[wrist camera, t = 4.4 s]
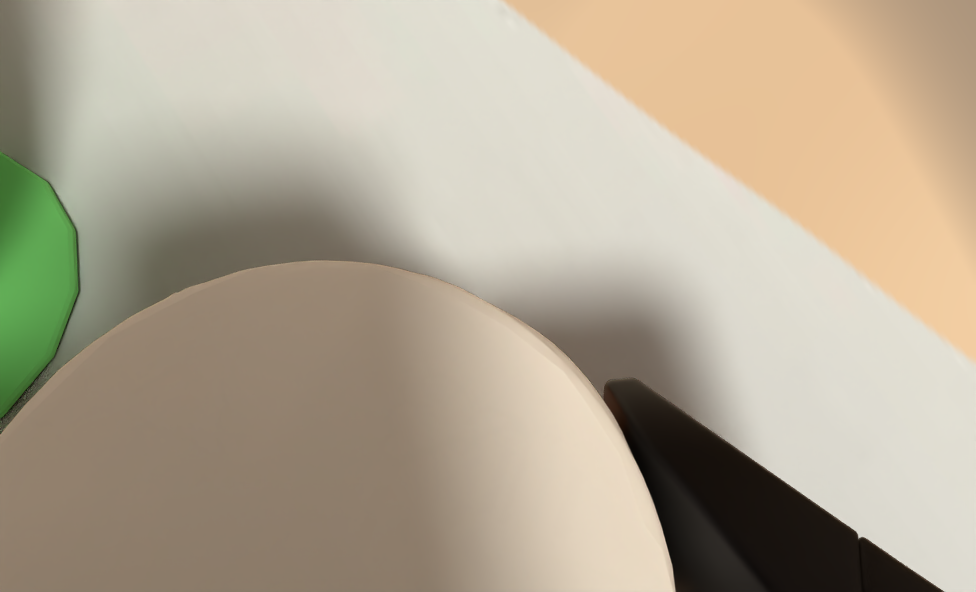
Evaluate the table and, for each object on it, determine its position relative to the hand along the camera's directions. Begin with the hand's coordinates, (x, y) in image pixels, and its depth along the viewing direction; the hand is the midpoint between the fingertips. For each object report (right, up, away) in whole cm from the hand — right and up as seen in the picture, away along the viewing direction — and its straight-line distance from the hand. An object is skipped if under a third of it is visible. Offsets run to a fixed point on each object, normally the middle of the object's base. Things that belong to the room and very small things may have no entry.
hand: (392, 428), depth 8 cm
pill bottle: (0, -3, +6) cm, 7 cm away
